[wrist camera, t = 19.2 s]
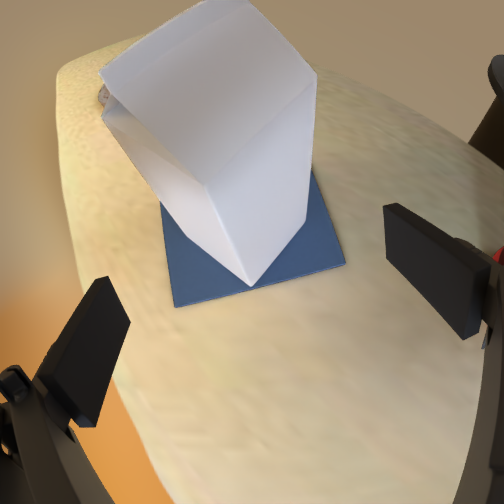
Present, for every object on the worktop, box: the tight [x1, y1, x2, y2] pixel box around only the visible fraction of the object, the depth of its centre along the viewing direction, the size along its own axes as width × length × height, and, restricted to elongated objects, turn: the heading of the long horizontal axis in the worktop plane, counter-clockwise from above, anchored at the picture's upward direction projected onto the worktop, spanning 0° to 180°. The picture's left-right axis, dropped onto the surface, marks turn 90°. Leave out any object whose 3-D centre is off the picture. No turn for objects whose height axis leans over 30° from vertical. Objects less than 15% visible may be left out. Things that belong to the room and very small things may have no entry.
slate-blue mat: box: [160, 170, 346, 308], centre depth 27 cm, size 14×10×1 cm
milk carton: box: [98, 0, 318, 287], centre depth 17 cm, size 7×7×19 cm
